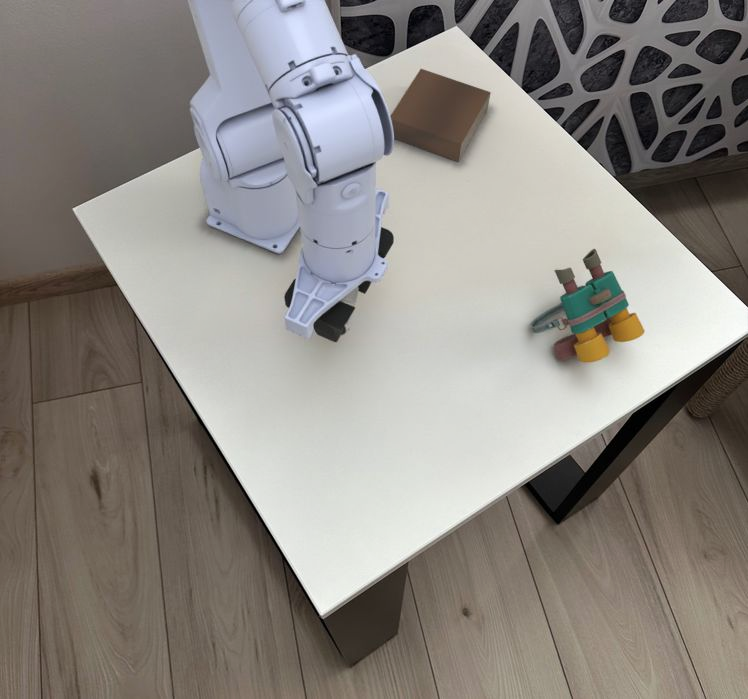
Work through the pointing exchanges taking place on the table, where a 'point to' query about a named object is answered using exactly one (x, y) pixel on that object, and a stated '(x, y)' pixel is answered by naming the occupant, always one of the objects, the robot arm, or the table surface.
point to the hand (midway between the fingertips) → (342, 311)
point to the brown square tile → (439, 114)
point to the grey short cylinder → (349, 300)
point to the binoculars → (590, 314)
